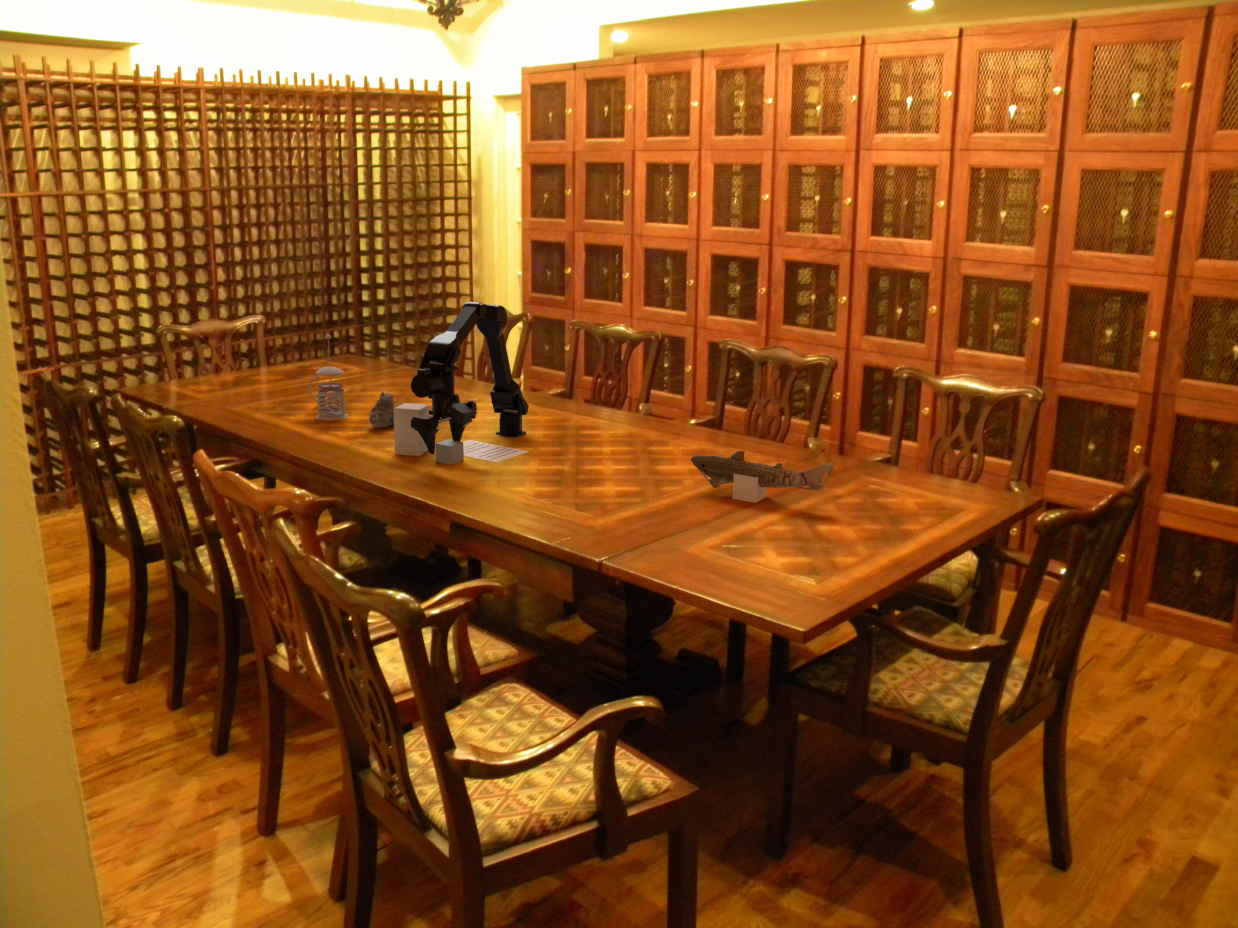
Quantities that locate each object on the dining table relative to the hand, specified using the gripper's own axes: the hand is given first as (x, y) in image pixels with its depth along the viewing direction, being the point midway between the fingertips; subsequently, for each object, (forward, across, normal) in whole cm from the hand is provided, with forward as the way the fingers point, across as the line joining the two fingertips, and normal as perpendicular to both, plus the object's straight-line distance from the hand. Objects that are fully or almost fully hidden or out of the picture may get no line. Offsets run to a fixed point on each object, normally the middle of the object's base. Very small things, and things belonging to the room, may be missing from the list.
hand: (444, 450), depth 273 cm
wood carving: (+4, +20, -79) cm, 82 cm away
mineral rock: (+4, +20, +42) cm, 47 cm away
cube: (+3, +2, 0) cm, 4 cm away
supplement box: (+4, +3, +14) cm, 15 cm away
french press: (+4, +19, +63) cm, 66 cm away
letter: (+3, +15, 0) cm, 15 cm away
